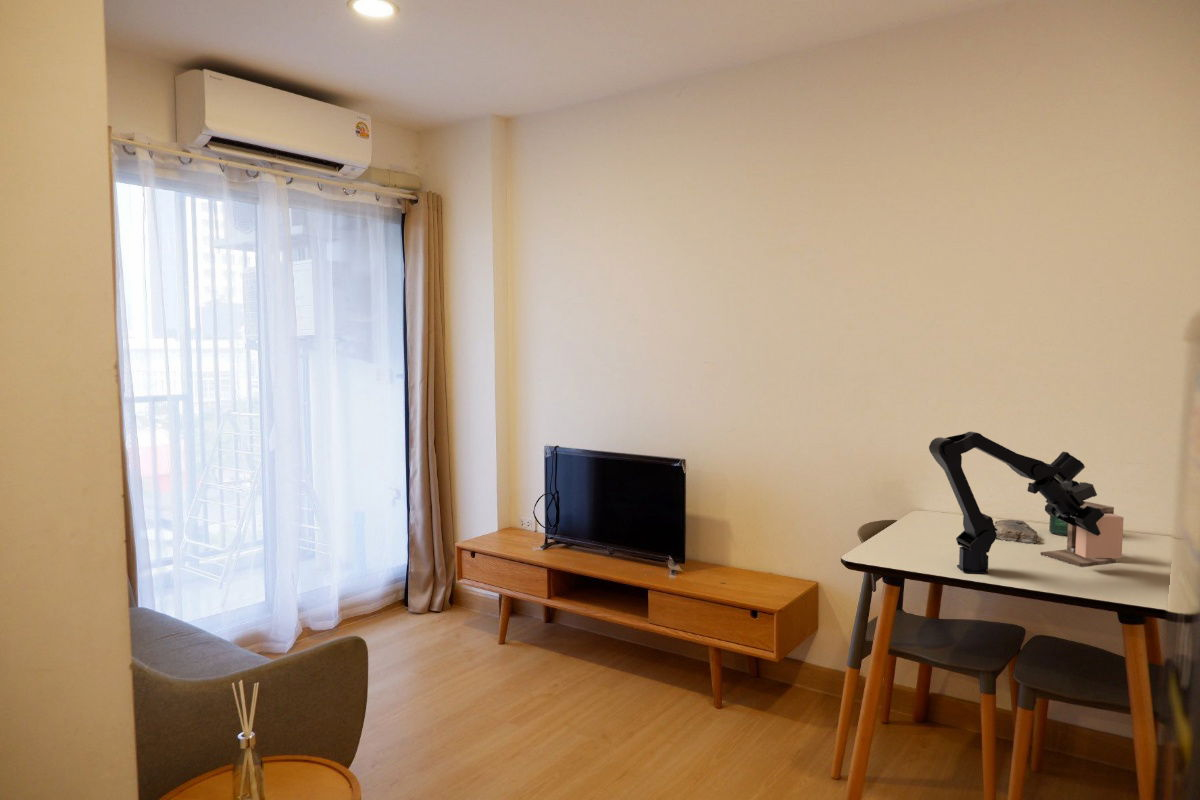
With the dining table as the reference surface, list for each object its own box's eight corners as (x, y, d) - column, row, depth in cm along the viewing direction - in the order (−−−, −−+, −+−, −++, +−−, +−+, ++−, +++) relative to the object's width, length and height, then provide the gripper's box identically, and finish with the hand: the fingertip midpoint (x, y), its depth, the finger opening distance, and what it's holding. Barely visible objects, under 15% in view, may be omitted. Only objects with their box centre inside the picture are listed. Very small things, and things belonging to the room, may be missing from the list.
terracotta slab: (1085, 557, 208) (1087, 517, 207) (1075, 553, 213) (1077, 513, 212) (1121, 558, 208) (1123, 517, 207) (1110, 553, 212) (1112, 513, 212)
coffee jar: (1075, 537, 247) (1077, 482, 246) (1048, 534, 252) (1049, 479, 251) (1077, 532, 255) (1079, 478, 254) (1050, 528, 260) (1052, 475, 259)
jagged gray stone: (992, 528, 263) (988, 539, 246) (993, 514, 263) (988, 524, 246) (1038, 534, 256) (1037, 546, 239) (1039, 519, 255) (1038, 530, 238)
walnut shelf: (1079, 566, 214) (1081, 511, 213) (1040, 554, 227) (1042, 502, 226) (1115, 562, 219) (1118, 508, 218) (1075, 550, 231) (1077, 499, 230)
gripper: (1098, 478, 200) (1138, 520, 200) (1056, 468, 218) (1093, 505, 219) (1067, 507, 200) (1107, 548, 201) (1028, 494, 219) (1065, 532, 219)
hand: (1093, 532), depth 210 cm, fingers closed on terracotta slab, 4 cm apart
